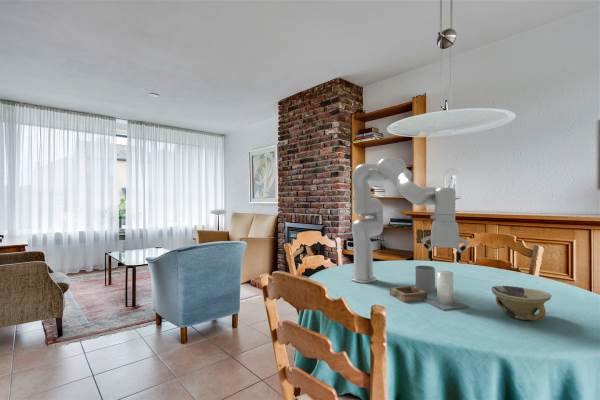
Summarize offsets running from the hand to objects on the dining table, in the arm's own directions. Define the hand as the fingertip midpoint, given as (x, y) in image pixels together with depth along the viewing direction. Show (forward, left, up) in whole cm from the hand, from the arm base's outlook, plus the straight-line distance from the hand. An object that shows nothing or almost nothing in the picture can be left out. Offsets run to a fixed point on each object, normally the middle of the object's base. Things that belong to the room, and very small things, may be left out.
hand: (444, 261), depth 128 cm
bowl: (+19, +16, -17) cm, 30 cm away
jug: (+1, 0, -16) cm, 16 cm away
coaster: (0, 0, -17) cm, 17 cm away
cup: (-20, +6, -17) cm, 27 cm away
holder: (-12, -9, -17) cm, 22 cm away
